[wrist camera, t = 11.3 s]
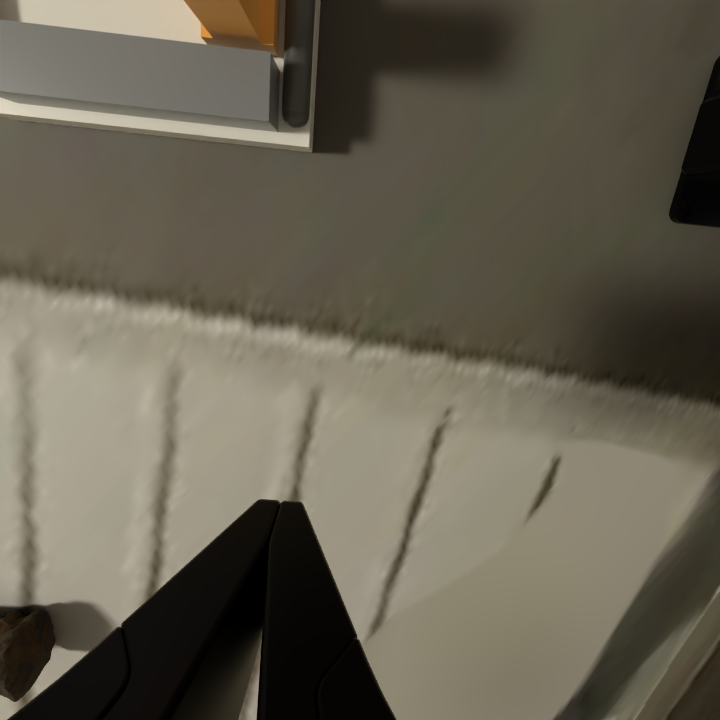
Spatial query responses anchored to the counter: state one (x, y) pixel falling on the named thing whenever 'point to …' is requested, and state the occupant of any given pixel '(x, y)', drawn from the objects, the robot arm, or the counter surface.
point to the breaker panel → (157, 72)
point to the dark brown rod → (23, 651)
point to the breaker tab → (239, 23)
